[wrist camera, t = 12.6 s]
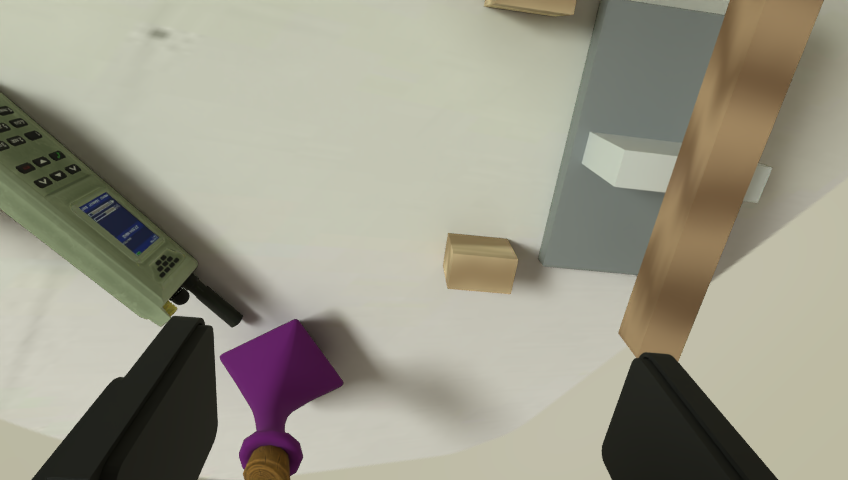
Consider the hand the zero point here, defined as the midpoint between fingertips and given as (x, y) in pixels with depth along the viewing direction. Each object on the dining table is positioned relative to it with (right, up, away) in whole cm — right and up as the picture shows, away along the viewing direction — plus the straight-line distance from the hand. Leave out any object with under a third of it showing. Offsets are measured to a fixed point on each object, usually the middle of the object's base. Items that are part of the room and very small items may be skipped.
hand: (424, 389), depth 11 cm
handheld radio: (-24, +6, +28) cm, 37 cm away
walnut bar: (+17, +7, +21) cm, 28 cm away
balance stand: (+17, +10, +27) cm, 34 cm away
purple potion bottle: (-12, -6, +33) cm, 36 cm away
